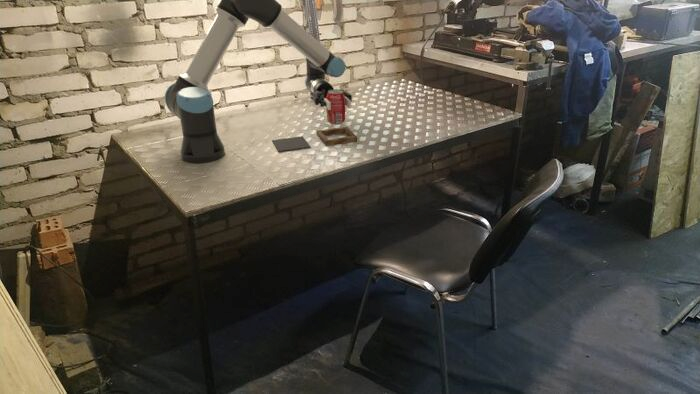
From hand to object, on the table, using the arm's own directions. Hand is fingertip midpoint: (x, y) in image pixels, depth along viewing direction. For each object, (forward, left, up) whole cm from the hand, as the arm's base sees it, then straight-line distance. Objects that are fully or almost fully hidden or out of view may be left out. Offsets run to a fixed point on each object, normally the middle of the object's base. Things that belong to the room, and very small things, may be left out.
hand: (339, 105), depth 188 cm
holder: (0, +5, -15) cm, 15 cm away
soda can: (0, +5, -8) cm, 10 cm away
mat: (-18, +5, -15) cm, 24 cm away
